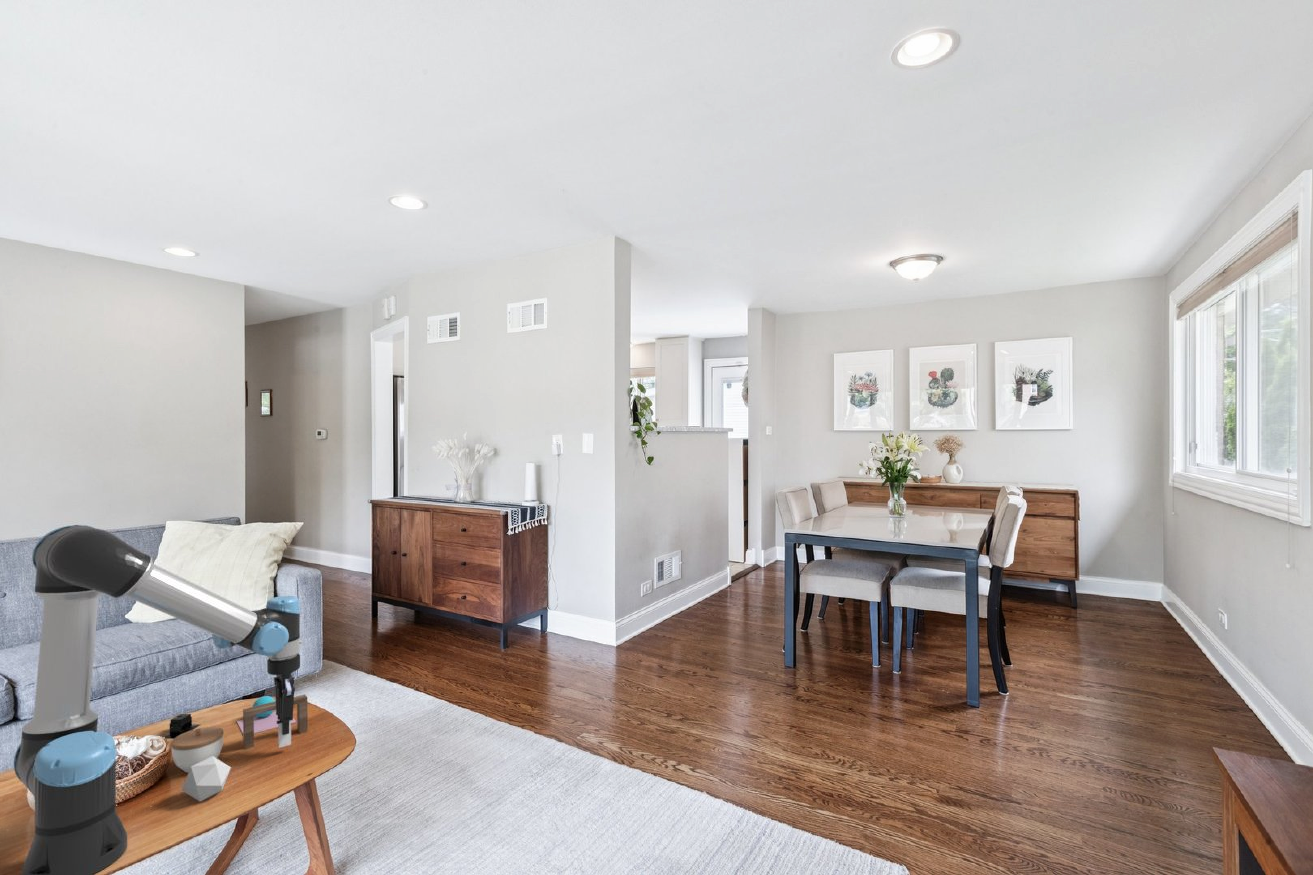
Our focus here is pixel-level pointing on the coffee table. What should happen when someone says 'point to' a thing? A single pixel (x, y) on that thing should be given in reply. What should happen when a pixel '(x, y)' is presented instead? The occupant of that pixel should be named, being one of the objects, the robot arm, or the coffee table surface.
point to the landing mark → (264, 723)
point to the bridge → (250, 712)
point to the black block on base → (180, 725)
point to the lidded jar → (196, 746)
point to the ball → (260, 702)
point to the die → (206, 778)
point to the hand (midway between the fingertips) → (284, 744)
